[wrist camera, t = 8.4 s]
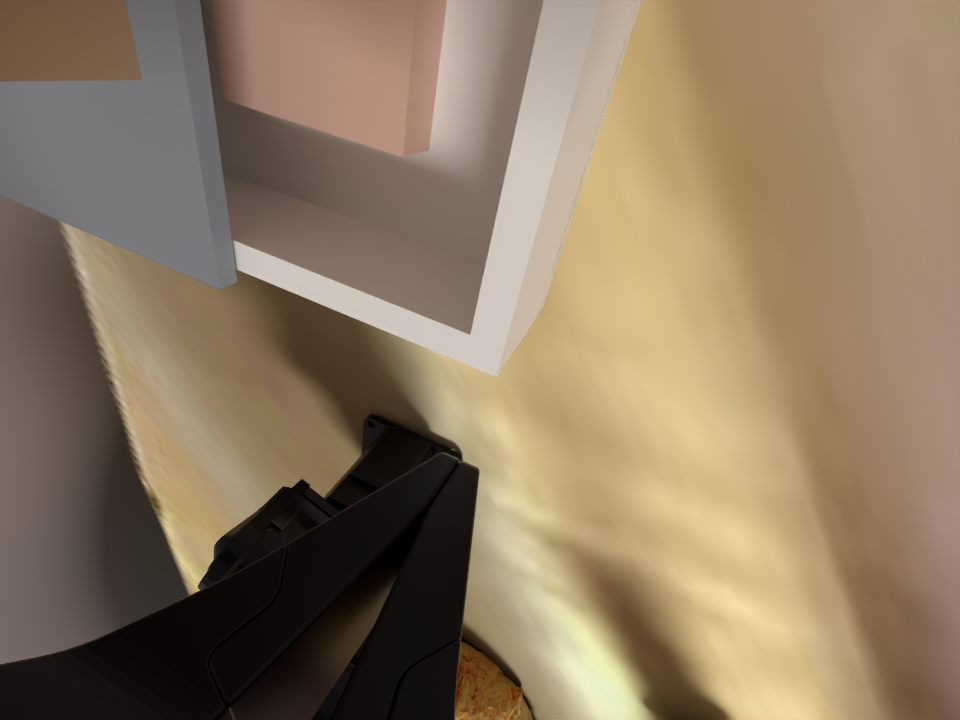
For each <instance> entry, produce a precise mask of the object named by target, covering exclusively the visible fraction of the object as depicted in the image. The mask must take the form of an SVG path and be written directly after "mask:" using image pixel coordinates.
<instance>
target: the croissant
mask: <svg viewBox="0 0 960 720" xmlns="http://www.w3.org/2000/svg"><path fill="white" fill-rule="evenodd" d="M460 642H461V649H460V658H459V667H458V679H457V692H456V705H455V720H533V719H532V715H531V711H530V710H529V708H528V706H527V705H526V703H525V701H524V699H523V696H522V693H523V692H522V690H521V688H520V687H518V686H516V685H514V683H513V682H512V681H511V680H510V679H509V678H507V677H505V676H504V674H503V672H502V670H501V669H500V668H499V667H498V666H497V665H496V664H495V663H494V662H493V661H492V660H490V659H489V658H488V657H487V656H485V655H484V654H483V653H481V652H478V651H477V650H475V649H474V648H473V647H471V646H470V645H468V644H466V643H464V642H462V641H460Z"/></svg>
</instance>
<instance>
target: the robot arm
mask: <svg viewBox="0 0 960 720" xmlns="http://www.w3.org/2000/svg"><path fill="white" fill-rule="evenodd" d="M478 481H479V469H478V468H477V467H475V466H473V465H471V464H469V463H466V462H463V459H462V457H461V455H460V454H458V453H457V452H455V451H453V450H451V449H448V448H446V447H444V446H442V445H440V444H438V443H435V442H433V441H431V440H429V439H427V438H425V437H422V436H420V435H418V434H416V433H414V432H412V431H409V430H407V429H405V428H403V427H401V426H398V425H396V424H394V423H392V422H390V421H388V420H385V419H383V418H381V417H379V416H377V415H374V414H370V415H369V416H368V417H367V418H366V419H365V420H364V432H363V448H362V455H361V456H360V457H359V459H358V460H357V461H356V462H355V463H354V464H353V465H352V466H351V468H350V469H349V470H348V471H347V472H346V473H345V474H344V475H343V477H342V478H341V479H340V480H339V481H338V482H337V483H336V484H335V486H334V487H333V488H332V489H331V490H330V491H329V492H328V493H327V495H326V496H325V497H324V498H323V497H322V496H320V495H319V494H318V493H317V492H315V491H314V490H313V489H311V488H310V487H309V486H310V485H309V484H308V483H307V482H306V481H304V480H303V479H301V480H300V481H299V482H298V483H297V484H296V485H295V486H294V487H292V488H289V487H284V486H283V487H282V488H281V489H280V490H279V491H278V492H277V493H276V494H275V495H274V496H273V497H272V498H271V499H270V500H269V501H268V502H267V503H266V504H265V505H263V506H262V507H261V508H260V509H259V510H258V511H256V512H255V513H254V514H252V515H251V516H250V517H248V518H247V519H246V520H244V521H243V522H241V523H240V524H239V525H237V526H236V527H235V528H233V529H232V530H230V531H229V532H228V533H226V534H225V535H224V536H222V537H221V538H220V539H219V540H218V542H217V543H216V544H215V546H214V560H213V562H212V563H211V565H210V566H209V568H208V572H207V573H206V574H205V576H204V577H203V578H202V580H201V581H200V583H199V585H198V589H200V591H198V592H196V593H194V594H192V595H190V596H187V597H185V598H183V599H181V600H179V601H177V602H175V603H173V604H171V605H168V606H166V607H164V608H162V609H160V610H158V611H156V612H154V613H151V614H149V615H147V616H145V617H143V618H141V619H139V620H137V621H134V622H132V623H130V624H128V625H126V626H124V627H122V628H120V629H118V630H115V631H113V632H111V633H109V634H107V635H104V636H102V637H100V638H98V639H95V640H92V641H90V642H87V643H85V644H82V645H79V646H76V647H73V648H70V649H68V650H64V651H60V652H56V653H53V654H50V655H45V656H41V657H36V658H31V659H25V660H21V661H16V662H11V663H6V664H1V665H0V720H455V705H456V692H457V679H458V667H459V658H460V649H461V642H460V640H461V637H462V628H463V619H464V610H465V601H466V591H467V582H468V573H469V564H470V555H471V546H472V536H473V527H474V518H475V509H476V500H477V490H478Z"/></svg>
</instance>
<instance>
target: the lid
mask: <svg viewBox="0 0 960 720" xmlns="http://www.w3.org/2000/svg"><path fill="white" fill-rule="evenodd" d="M0 195H1V196H4V197H6V198H8V199H11V200H13V201H15V202H18V203H20V204H22V205H25V206H27V207H29V208H32V209H34V210H36V211H39V212H41V213H43V214H45V215H48V216H50V217H53V218H55V219H57V220H59V221H62V222H64V223H66V224H69V225H71V226H73V227H76V228H78V229H80V230H83V231H85V232H87V233H90V234H92V235H94V236H97V237H99V238H101V239H104V240H106V241H108V242H110V243H113V244H115V245H117V246H120V247H122V248H124V249H127V250H129V251H131V252H134V253H136V254H138V255H141V256H143V257H145V258H148V259H150V260H152V261H155V262H157V263H159V264H162V265H164V266H166V267H169V268H171V269H173V270H176V271H178V272H180V273H182V274H185V275H187V276H189V277H192V278H194V279H196V280H199V281H201V282H203V283H206V284H208V285H210V286H213V287H215V288H217V289H220V290H221V289H223V288H225V287H227V286H230V285H232V284H234V283H236V282H237V276H236V268H235V261H234V253H233V246H232V238H231V231H230V223H229V216H228V208H227V201H226V193H225V186H224V178H223V171H222V163H221V156H220V148H219V141H218V133H217V126H216V118H215V111H214V103H213V96H212V88H211V81H210V73H209V66H208V58H207V51H206V43H205V36H204V28H203V21H202V13H201V6H200V0H0Z"/></svg>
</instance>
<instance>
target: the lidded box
mask: <svg viewBox="0 0 960 720" xmlns="http://www.w3.org/2000/svg"><path fill="white" fill-rule="evenodd" d="M641 1H642V0H200V6H201V13H202V21H203V28H204V36H205V43H206V51H207V58H208V66H209V73H210V81H211V88H212V96H213V103H214V111H215V118H216V126H217V133H218V141H219V148H220V156H221V163H222V171H223V178H224V186H225V193H226V201H227V208H228V216H229V223H230V231H231V238H232V246H233V253H234V261H235V268H236V269H237V270H239V271H242V272H244V273H246V274H249V275H251V276H254V277H256V278H258V279H261V280H263V281H266V282H268V283H270V284H273V285H275V286H278V287H280V288H282V289H285V290H287V291H290V292H292V293H295V294H297V295H299V296H302V297H304V298H307V299H309V300H311V301H314V302H316V303H319V304H321V305H323V306H326V307H328V308H331V309H333V310H335V311H338V312H340V313H343V314H345V315H347V316H350V317H352V318H355V319H357V320H360V321H362V322H364V323H367V324H369V325H372V326H374V327H376V328H379V329H381V330H384V331H386V332H388V333H391V334H393V335H396V336H398V337H400V338H403V339H405V340H408V341H410V342H412V343H415V344H417V345H420V346H422V347H425V348H427V349H429V350H432V351H434V352H437V353H439V354H441V355H444V356H446V357H449V358H451V359H453V360H456V361H458V362H461V363H463V364H465V365H468V366H470V367H473V368H475V369H477V370H480V371H482V372H485V373H487V374H490V375H492V376H494V377H497V375H498V374H499V372H500V371H501V369H502V368H503V366H504V365H505V363H506V362H507V360H508V359H509V357H510V356H511V354H512V353H513V351H514V350H515V348H516V347H517V345H518V344H519V342H520V341H521V339H522V338H523V336H524V335H525V333H526V332H527V330H528V329H529V327H530V326H531V325H532V323H533V322H534V320H535V319H536V317H537V316H538V314H539V313H540V311H541V310H542V308H543V307H544V304H545V301H546V298H547V295H548V292H549V289H550V285H551V282H552V279H553V276H554V273H555V270H556V267H557V263H558V260H559V257H560V254H561V251H562V248H563V245H564V242H565V238H566V235H567V232H568V229H569V226H570V223H571V220H572V217H573V213H574V210H575V207H576V204H577V201H578V198H579V195H580V191H581V188H582V185H583V182H584V179H585V176H586V173H587V170H588V166H589V163H590V160H591V157H592V154H593V151H594V148H595V145H596V141H597V138H598V135H599V132H600V129H601V126H602V123H603V120H604V116H605V113H606V110H607V107H608V104H609V101H610V98H611V94H612V91H613V88H614V85H615V82H616V79H617V76H618V73H619V69H620V66H621V63H622V60H623V57H624V54H625V51H626V48H627V44H628V41H629V38H630V35H631V32H632V29H633V26H634V22H635V19H636V16H637V13H638V10H639V7H640V4H641Z"/></svg>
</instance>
